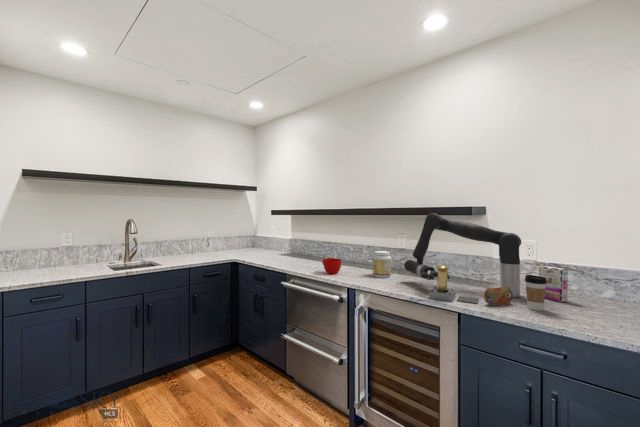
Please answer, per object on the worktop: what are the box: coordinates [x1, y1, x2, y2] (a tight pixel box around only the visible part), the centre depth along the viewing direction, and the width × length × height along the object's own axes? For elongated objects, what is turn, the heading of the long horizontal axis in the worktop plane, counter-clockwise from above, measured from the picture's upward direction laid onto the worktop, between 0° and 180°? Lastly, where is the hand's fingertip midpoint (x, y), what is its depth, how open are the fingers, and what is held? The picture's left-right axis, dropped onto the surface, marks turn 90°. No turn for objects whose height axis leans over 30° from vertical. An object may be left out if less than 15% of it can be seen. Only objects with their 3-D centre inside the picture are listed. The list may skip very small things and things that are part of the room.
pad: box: [456, 295, 480, 305], centre depth 155 cm, size 9×9×1 cm
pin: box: [436, 265, 450, 293], centre depth 160 cm, size 6×6×16 cm
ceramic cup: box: [321, 257, 342, 275], centre depth 222 cm, size 13×17×10 cm
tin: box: [483, 286, 513, 307], centre depth 149 cm, size 15×3×8 cm, turn 105°
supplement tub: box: [372, 250, 392, 279], centre depth 212 cm, size 12×12×17 cm
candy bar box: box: [538, 265, 569, 303], centre depth 158 cm, size 11×5×16 cm, turn 21°
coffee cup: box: [524, 274, 547, 312], centre depth 142 cm, size 8×8×15 cm
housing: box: [428, 286, 456, 302], centre depth 160 cm, size 11×11×4 cm
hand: (440, 277), depth 162 cm, fingers open, 8 cm apart
